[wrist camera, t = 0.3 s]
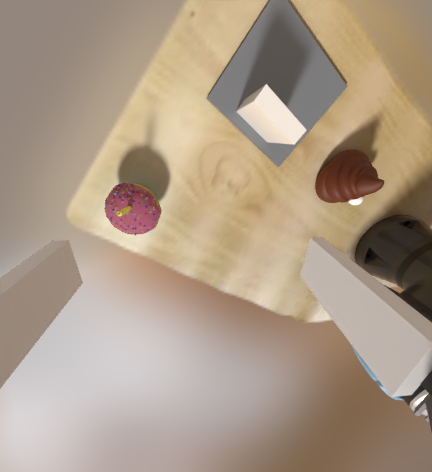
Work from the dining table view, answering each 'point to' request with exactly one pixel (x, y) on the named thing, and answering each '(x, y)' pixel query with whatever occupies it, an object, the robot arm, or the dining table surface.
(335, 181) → the poop emoji
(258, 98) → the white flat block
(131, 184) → the cupcake
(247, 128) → the slate board
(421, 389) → the robot arm
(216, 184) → the dining table surface
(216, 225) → the dining table surface
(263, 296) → the dining table surface
